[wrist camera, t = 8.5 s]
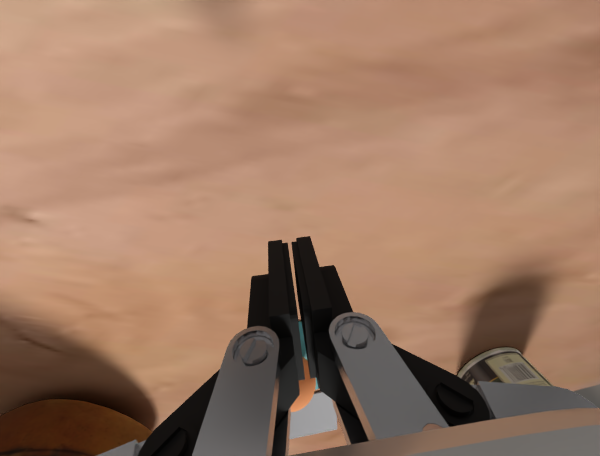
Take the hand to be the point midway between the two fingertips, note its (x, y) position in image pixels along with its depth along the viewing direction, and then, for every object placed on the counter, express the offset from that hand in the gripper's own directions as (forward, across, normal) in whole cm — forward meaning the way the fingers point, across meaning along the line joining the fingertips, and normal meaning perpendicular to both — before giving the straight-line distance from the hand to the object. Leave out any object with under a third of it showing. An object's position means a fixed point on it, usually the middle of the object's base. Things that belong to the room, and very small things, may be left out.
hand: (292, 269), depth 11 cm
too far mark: (+12, +1, +34) cm, 36 cm away
